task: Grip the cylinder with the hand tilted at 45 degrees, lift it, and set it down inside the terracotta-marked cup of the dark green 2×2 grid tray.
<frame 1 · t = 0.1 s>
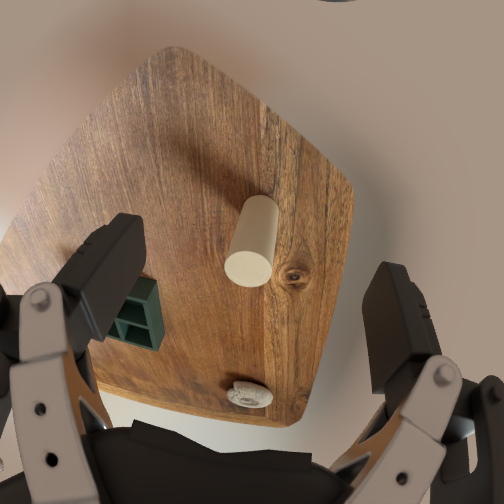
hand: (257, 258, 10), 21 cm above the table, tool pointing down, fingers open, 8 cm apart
grid: (125, 300, 46), on the table
fossil: (250, 388, 59), on the table
cylinder: (260, 210, 33), on the table
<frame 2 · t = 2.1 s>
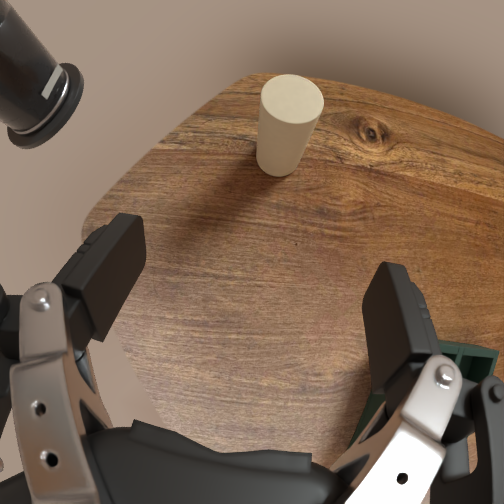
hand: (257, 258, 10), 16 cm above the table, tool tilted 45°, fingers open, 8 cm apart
grid: (420, 398, 25), on the table
cylinder: (277, 156, 26), on the table
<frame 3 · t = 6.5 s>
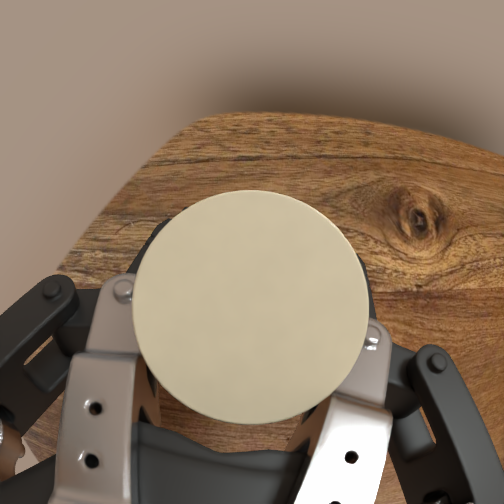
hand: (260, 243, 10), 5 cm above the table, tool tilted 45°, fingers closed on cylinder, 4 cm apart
cylinder: (251, 295, 15), on the table, touching gripper
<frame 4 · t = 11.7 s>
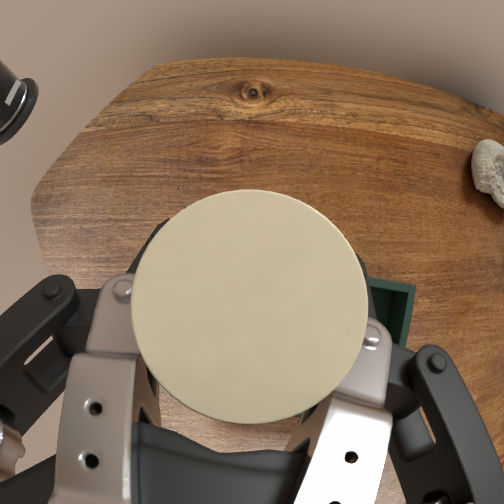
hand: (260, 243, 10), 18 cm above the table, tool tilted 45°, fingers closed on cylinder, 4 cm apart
grid: (327, 341, 28), on the table
fossil: (489, 177, 30), on the table
cylinder: (251, 295, 15), point 14 cm above the table, touching gripper
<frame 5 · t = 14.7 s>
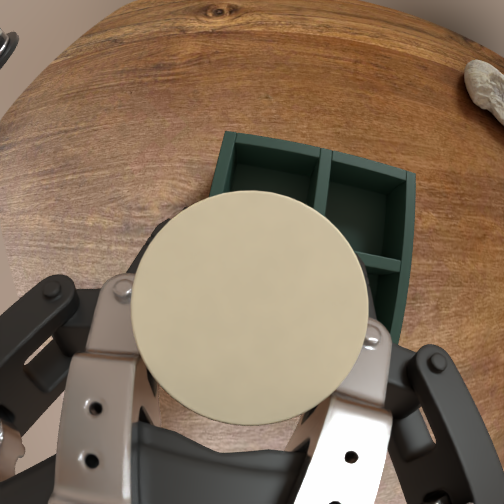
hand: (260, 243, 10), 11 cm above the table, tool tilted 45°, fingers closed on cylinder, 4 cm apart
grid: (302, 256, 21), on the table
fossil: (488, 99, 24), on the table
cylinder: (251, 296, 14), point 7 cm above the table, touching gripper
when the fingers open (5 cm above the table, at t = 16.8 s): cylinder stays where it is, resting on grid.
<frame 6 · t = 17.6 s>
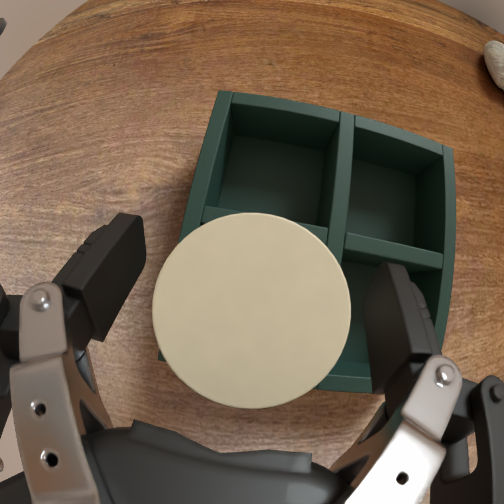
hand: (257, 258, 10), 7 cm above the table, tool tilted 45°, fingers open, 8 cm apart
grid: (316, 250, 17), on the table
cylinder: (252, 297, 16), point 1 cm above the table, touching grid
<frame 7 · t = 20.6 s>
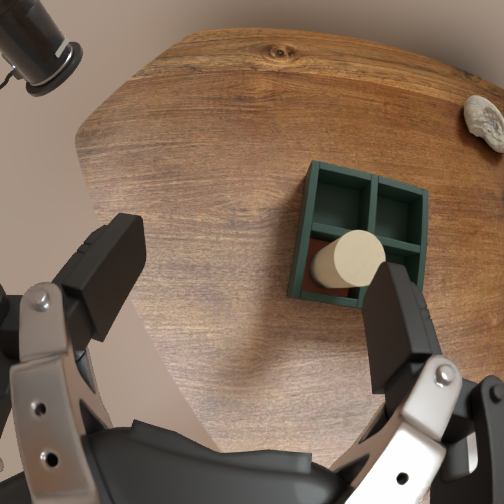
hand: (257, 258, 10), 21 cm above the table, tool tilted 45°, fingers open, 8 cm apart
ramekin: (458, 439, 27), on the table
grid: (356, 244, 31), on the table
fossil: (481, 127, 33), on the table
cylinder: (327, 268, 30), point 1 cm above the table, touching grid
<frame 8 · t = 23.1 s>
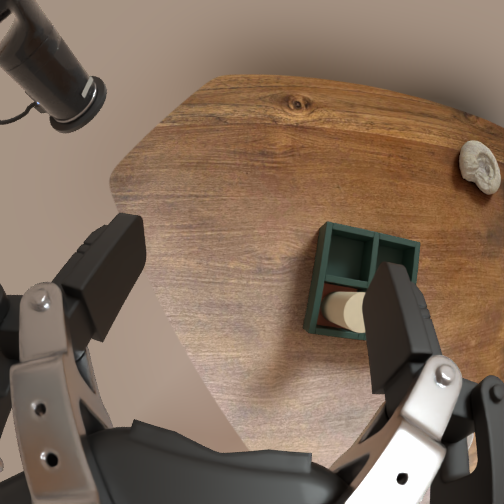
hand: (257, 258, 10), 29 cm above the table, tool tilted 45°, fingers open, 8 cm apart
grid: (359, 286, 38), on the table
fossil: (474, 169, 40), on the table
cylinder: (335, 306, 37), point 1 cm above the table, touching grid
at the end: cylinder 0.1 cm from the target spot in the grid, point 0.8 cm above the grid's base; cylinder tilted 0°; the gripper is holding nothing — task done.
